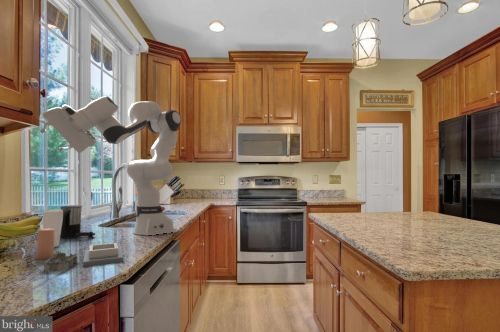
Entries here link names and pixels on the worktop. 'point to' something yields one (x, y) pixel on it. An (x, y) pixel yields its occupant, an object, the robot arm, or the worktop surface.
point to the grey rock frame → (59, 262)
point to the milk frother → (72, 222)
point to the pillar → (45, 243)
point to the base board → (102, 254)
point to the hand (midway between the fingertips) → (50, 141)
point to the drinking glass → (53, 223)
